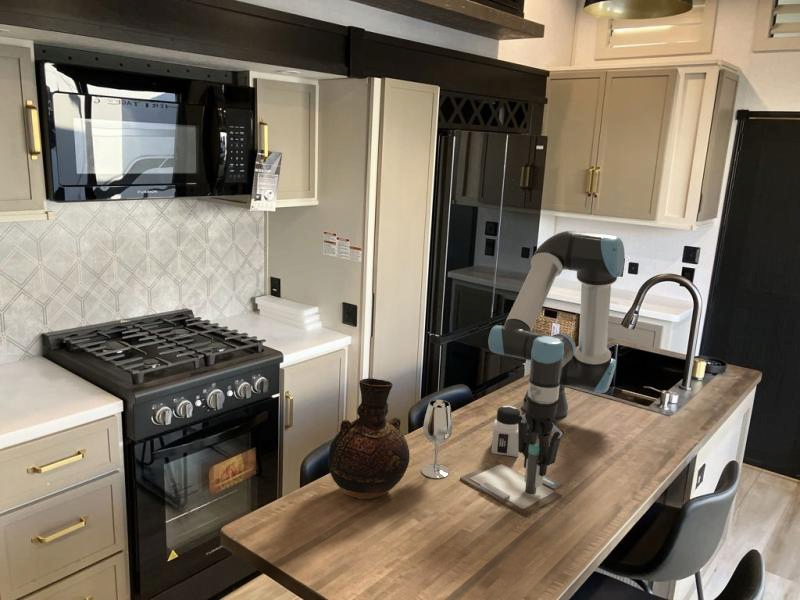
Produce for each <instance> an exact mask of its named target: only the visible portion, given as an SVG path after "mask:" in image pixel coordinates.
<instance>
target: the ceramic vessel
mask: <svg viewBox="0 0 800 600" xmlns="http://www.w3.org/2000/svg"><path fill="white" fill-rule="evenodd" d="M392 388H393V383H392V382H391V381H389V380H384V379H377V378H373V377H371V378H363V379H361V380H359V391H360V394H361V395H360V396H361V400H360V401H361V402H360V404H359V405H358V407H357V409H356V410H357V411H356V413H357V415H358V418H356V419H354V420H353V421H350V420H348V419H343V420H342V421H341V423H340V429H339V432H337V434H336V435H335V436H334V438H333V439H332V441H331V443H330V446H329V450H328V455H327V456H328V457H327V464H328V470H329V473H330V476H331V478H332V480H333V482H334V483H336V485H337V486H338V487H339V489H340V490H342V491H343V492H344V493H345V494H346V495H348V496H351V497H353V498H354V499H355V498H357V499H359V500H373V499H376V498H379V497H382V496H383V495H385V494H386V493H388V492H389V491H391V490H392V489H393V488H395V487H396V485H398V484H399V482H400V481H401V480H402V478H403V477H404V475H405V473H406V471H407V469H408V467H409V464H410V448H409V444H408V442H407V439H406V438H405V436H404V434H403V433H402V431H401V430H400V427H401V419H400V418H398V417H395V418H391V419H387V418H386V416H387V415H388V413H389V404H388V399H389V395H390V393H391V390H392Z"/></svg>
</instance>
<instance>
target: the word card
mask: <svg viewBox="0 0 800 600" xmlns="http://www.w3.org/2000/svg"><path fill="white" fill-rule="evenodd" d="M543 485H544V486H546V487H548V488H550V489H552V490H553V491H555V490H556V489H558V488H560V487H562V486H563V485H562V483H560V482H559V481H556V480H554V479H552V478H551V477H548V476H546V475H544V476H543Z"/></svg>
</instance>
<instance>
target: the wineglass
mask: <svg viewBox="0 0 800 600" xmlns="http://www.w3.org/2000/svg"><path fill="white" fill-rule="evenodd" d="M451 409H452V408H451V404H450V402H448V401H447V400H444V399H433V400H430V401H429V403H428V406H427V409H426V413H425V415H424V421H423V428H422V429H423V434H424V436H425V438H426V440H428V441H429V442H430V443H432V444H434V462H433V463H428V464H425V465H424V466H422V467H421V470H420V472H421V474H423V475H424V476H425V477H428V478H431V479H444V478H446V477H447V476H448V475H449V474H450V472H449V469H448V468H447V467H446V466H444V465H442V464H438V453H439V451H438V450H439V446H440V445H441V444H444V443H446V442H447V441H448V440H449V439H450V438H451V436H452V434H453V416H452V410H451Z"/></svg>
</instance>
